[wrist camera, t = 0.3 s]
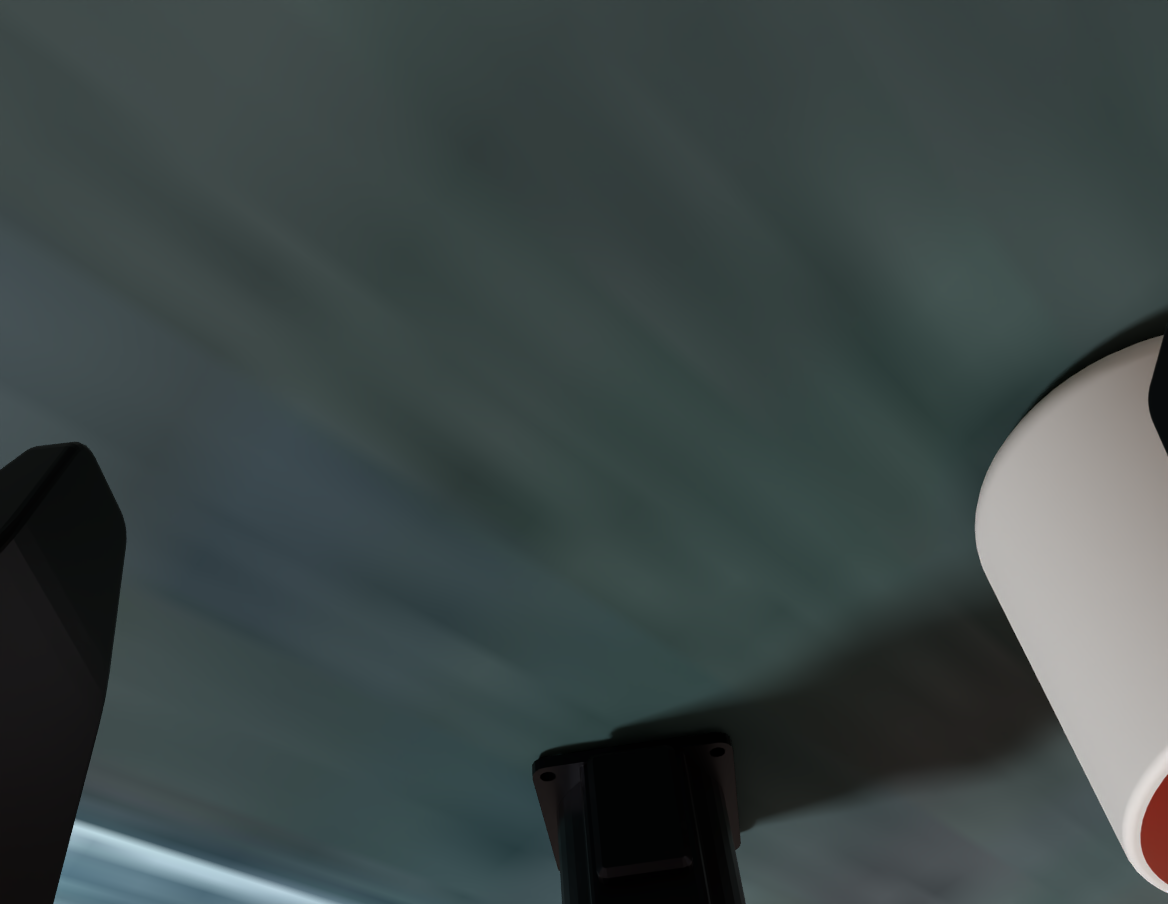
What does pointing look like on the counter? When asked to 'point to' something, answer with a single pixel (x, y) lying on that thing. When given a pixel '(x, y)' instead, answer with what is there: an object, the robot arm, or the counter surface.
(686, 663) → the counter surface
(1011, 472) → the cup
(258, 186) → the counter surface
